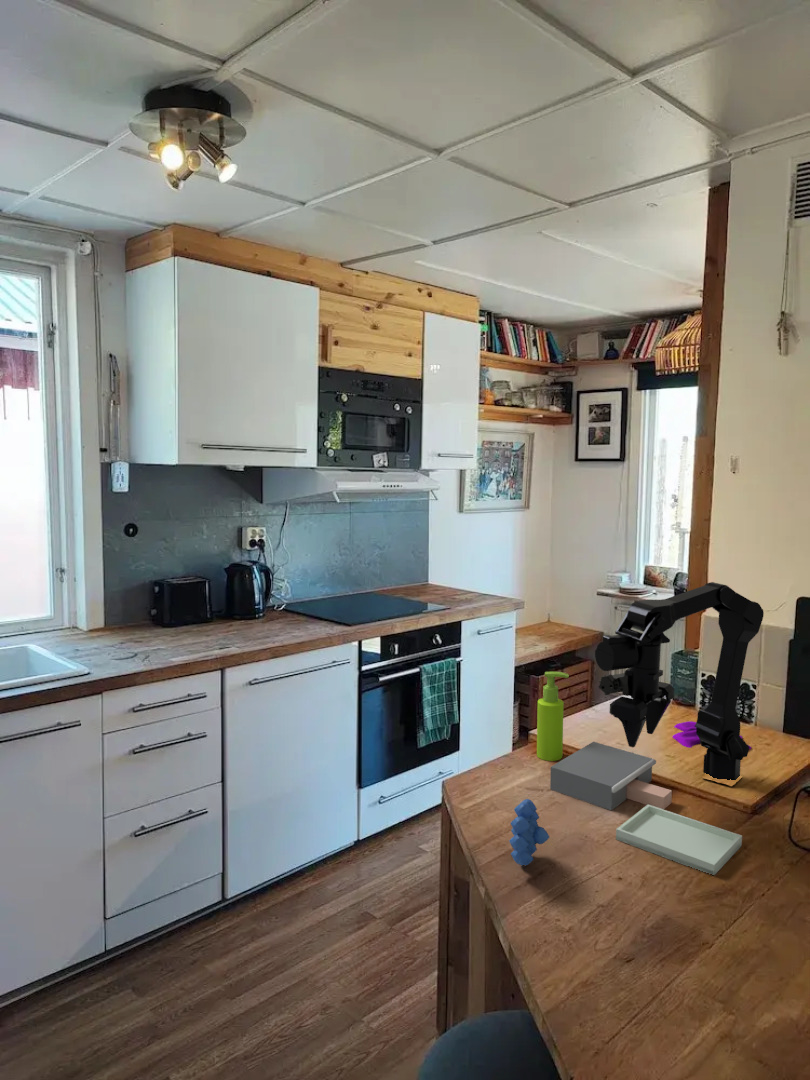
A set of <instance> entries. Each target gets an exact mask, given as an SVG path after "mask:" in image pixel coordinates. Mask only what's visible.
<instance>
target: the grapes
mask: <svg viewBox="0 0 810 1080" xmlns="http://www.w3.org/2000/svg"><path fill="white" fill-rule="evenodd" d="M537 810H538V808H537V806H536V805H535V803H534V801H532V800H531V799H529V798H525V799H523V800H522V801H521V802H520V803H519V804H518V805H516V806H515V808H514V809H513V811H514V812H515V814H516V817H514V819H513V820H512V821H510V825H511V827H512V828H511V830H510V831H511V833H512V835H513V836H512V837H511V838H510V839H509V840H508V842H509V844H510V846H511V847H512V848H513V850H512V851H511V853H510V856H511V857H512V859H513V860H514V862H515V863H516V864H518V865H520V866H522V865H525V866H524V867H526V865H527V866H528V865H530V863H532V862H533V861H534V857H533V854H535V853H536V852H537V850H538V849H537V846H536V845H537V844H538V845H542V844H545V842H547V841H548V839H550V835H549V834H548V832H547V830H546V829H545V828H544V827H543V826H539V824H538V819H540V816H539V814H538V812H537Z"/></svg>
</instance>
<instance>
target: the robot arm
mask: <svg viewBox="0 0 810 1080" xmlns="http://www.w3.org/2000/svg"><path fill="white" fill-rule="evenodd" d="M711 608H712V609H713V610H714V611H716V612H717V613H718V623H717V624H718V626H719V629H720V633H721V635H722V641H721V642H722V643H721V648H720V651H719V652H720V653H719V658H718V664H717V668H716V672H715V673H716V674H715V679H714V684H713V690H712V696H711V700H710V703H709V704H707V706H706V707H705V708H704V709H699V710H697V711H698V712H697V718H696V721H695V722H696V724H695V727H696V734H697V735H698V737H699V739H700V743H701V744H700V746H701V747H702V748H703V747H704V748H706V753H705V754H704V755H703V768H702V770H703V772H702V773H703V774H705V773H706V774H709V775H710V776H712V777H713V778H717V779H727V780H730V779H731V780H736V779H737V778H738V777H739V776H740V775H741V762H742V760H744V758H747V757H748V755H749V751H750V750H749V748H750V747H751V746H750V745H749V744H747V742H746V741H745V740H744V739H743V737H742V738H741V737H740V736H741V721H740V718H739V716H738V713H737V702H738V699H739V694H740V693H739V691H740V688H741V683H742V679H743V672H744V666H745V663H746V662H745V661H746V656H747V651H748V647H749V643H750V642H751V641H752V639H754V638H755V637H756V635H757V634H758V633H759V631H760V630H761V626H762V623H763V619H764V609H763V608H762V606H761V604H759V602H756V601H752V600H750V599H749V598H747V597H745V596H743V595H742V594H739V593H738V592H736V591H735V590H734V589H733V588H731V587H730V586H729V585H726V584H722V583H718V582H714V581H711V582H706V583H705V584H704V585H702V586H699V587H696V588H693V589H691V590H688V591H684V592H682V593H679V594H676V595H673V596H670V597H667V598H662V599H642V600H635V601H634V602H632V603H631V604H630V606H629V608H628V610H627V612H626V614H625V615H624V617H623V619H622V620H621V621H620V623H619V625H618V627H617V628H616V629H615V631H614V635H610V634H607V635H602V641H601V642H599V643H598V644H597V646H596V649H595V650H594V656H595V661H596V665H597V666H598V668H599V669H600V670H602V671H604V672H610V671H618V670H624V672H623V673H617V674H608V675H607V674H606V675H603V676H601V678H600V680H599V685H598V689H599V690H601V691H602V692H603V694H604V695H605V696H609V695H611V694H615V693H616V694H618V693H621V692H622V693H621V694H622V696H619V697H618V698H617V699H615V700H614V701H612V702H611V703H609V715H611V716H613V717H614V718H616V719H617V720H619V721H620V722H621V724H622V727H623V729H624V730H623V731H624V734H625V737H626V741H627V745H628V747H630V748H635V747H636V745H637V742H638V741H639V738H640V735H641V733H642V731H643V729H644V726H646V727H645V728H646V733H647V734H649V735H653V734H654V733H655V731H656V728H657V727H658V726H659V725H658V724H659V723H660V722H661V720H662V718H663V716H664V715H665V712H666V710H667V708H668V707H669V705H670V704H671V702H672V700H673V699H675V688H674V687H673V686H672V684H671V683H668V682H667V683H666V682H662V681H660V677H662V676H663V674H664V669H663V670H662V669H660V667H661V651H662V648H661V647H662V644H668V643H670V642H671V640H670V638H669V637H668V636H667V635H666V634H665V633H664V632H667V631H668V630H669V629H671V628H673V626H674V625H675V623H676V622H677V621H679V620H681V619H683V618H686V617H689V616H692V615H694V614H697V613H700V612H702V611H706V610H709V609H711ZM748 745H749V746H750V747H749V746H748Z"/></svg>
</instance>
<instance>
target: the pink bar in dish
mask: <svg viewBox="0 0 810 1080" xmlns="http://www.w3.org/2000/svg"><path fill="white" fill-rule="evenodd" d="M672 793H673V792H672V790H671V789H668V788H665V787H661V786H658V785H656V784H652V783H650V782H649V783H646V782H642V781H639V780H636V779H634V780H632V781H631V782H629V783H628V784H627V790H626V800H627V799H628V800H631V801H634V802H637V803H640V804H643V805H645V806H646V805H652V806H655V807H658V808H661V809H664V810H665V809H666V808H667V807H669V805H671V804H672V798H673V797H672V796H673V795H672Z"/></svg>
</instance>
